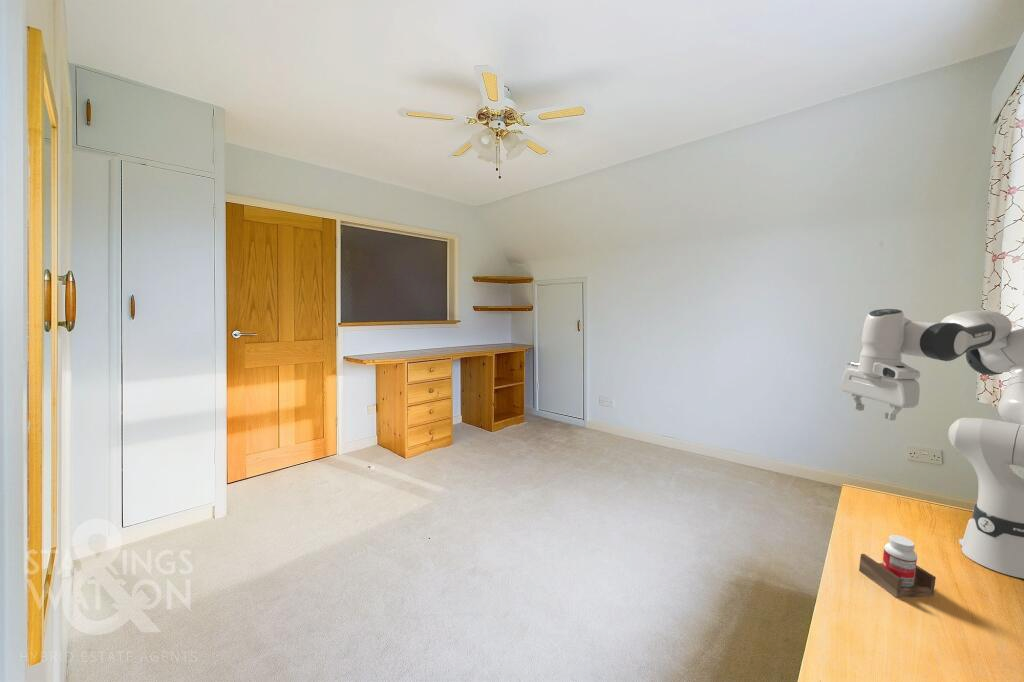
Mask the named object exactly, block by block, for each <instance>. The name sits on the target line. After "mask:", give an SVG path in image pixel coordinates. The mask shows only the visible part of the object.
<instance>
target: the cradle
mask: <svg viewBox="0 0 1024 682" xmlns="http://www.w3.org/2000/svg"><path fill="white" fill-rule="evenodd" d="M882 563H883V562H877V561H876V560H875V559H873V558H871V557H870V556H868V555H867V554H865V553H861V554H860V560H859V566H858V571H859V572H860V573H862V574H863V575H865V576H866V577H867V578H868V579H870V581H873V583H875V584H876V585H878V586H879V587H880V588H882V589H884V590H885V591H886V592H888V593H889V594H890V595H892V596H893V597H895V599H896V598H897V599H899V598H901V599H902V598H914V597H915V598H916V597H927V596H934V593H935V586H936V580H937V579H936V576H934V575H933V574H932V573H930V572H928V571H926V569H923V568H922V567H921V566H919V565H917V564H916V570H915V579H914V585H913V586H912V587H910V588H902V587H901V585H902V579H901V578H899V577H898V576H897V575H895V574H894V573H892V572H891V571H889V570H888V569H886V568H885V567H883V566H882Z"/></svg>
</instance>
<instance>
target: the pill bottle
mask: <svg viewBox="0 0 1024 682" xmlns="http://www.w3.org/2000/svg"><path fill="white" fill-rule="evenodd" d="M882 556H883V557H882V562H881V563H882V566H883V567H885V568H886V569H888V570H889V571H891V572H892V573H894V574H895V575H897V576H898V577H899V578H901V579H902V585H901V587H902V588H910V587H912V586H913V585H914V579H915V570H916V565H917V561H918V554H917V553H916V551H915V542H914V541H912V539H910V538H908V537H905V536H902V535H899V534H891V535H889V539H888V542H887V543H886V544H885V545H884V548H883V555H882Z"/></svg>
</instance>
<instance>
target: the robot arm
mask: <svg viewBox="0 0 1024 682" xmlns="http://www.w3.org/2000/svg"><path fill="white" fill-rule="evenodd" d="M861 334H862V335H861V344H862V348H861V352H860V353H859V361H858V362H855V361H850V362H849V363H847V364H846V365H845V366H844V367H845V368H844V371H843V374H842V378H841V381H840V389H841V390H842V392H843V393H844V392H845V393H849V394H851V399H852V402H853V404H854V405H853V406H854V407H853V409H854V410H856V411H865V404H864V403H863V401H862V400H861V399H862V398H867V399H870V400H874V401H878V402H881V403H885V404H888V405H889V408H890V410H889V412H885V414H884V419H885V420H887V421H891V422H892V421H896V419H897V415H898V414H899V413H900V412H901V410H902V409H904V408H905V409H914V408H916V407H917V406H918V404H919V402H920V391H921V390H920V388H921V387H920V386H921V385H920V383H919V382H918V379H920V378H921V372H920V371H919V370H918V369H915V368H913V367H911V366H909V365H907V364H906V363H904V362H902V355H907V356H913V357H921V358H928V359H932V360H933V359H934V360H937V361H943V362H950V361H954V360H956V359H958V358H960V357H962V355H964V354H965V359H966V361H967V364H968V365H969V366H970V367H971V368H972V370H974V371H975V372H977V373H979V374H981V375H985V376H994V375H995V376H996V375H1001V374H1003V373H1008V372H1009V373H1010V376H1011V377H1010V378H1009V380H1008V381H1007V382H1006V385H1005V387H1004V389H1003V392H1002V394H1001V397H1000V400H999V403H998V406H997V411H998V414H999V416H1000V417H1001V419H1003V421H1001V420H997V419H996V420H995V419H990V418H984V417H960V418H958V419H956V420H955V421H954V422H952V424H951V425H950V426H949V429H948V432H947V435H948V436H947V438H948V440H949V442H950V444H951V445H952V447H953V448H954V449H955V450H957V451H958V452H959V453H960V454H962V455H963V456H964V457H965V458H966V460H968V461H969V463H970V464H971V466H972V467H973V469H974V470H975V473H976V477H977V483H978V484H977V485H978V489H977V490H978V493H977V503H975V504H974V507H973V509H972V518H969V520H968V521H967V525H966V529H965V532H964V535H963V537H962V538H959V539H958V540H959V541H958V543H959V544H960V546H961V552H962V554H964V555H965V556H966V557H967V558H969V559H970V560H971V561H973V562H974V563H976V564H979V565H981V566H982V567H986V568H987V569H990V570H992V571H995V572H997V573H1000V574H1004V575H1006V576H1007V575H1008V576H1010V577H1015V578H1019V579H1024V478H1023V477H1021V476H1020V475H1018V474H1017V473H1016V472H1014V470H1013V468H1011V466H1016V467H1021V468H1024V327H1023V328H1019V329H1015V330H1013V324H1012V322H1011V319H1010V318H1009V317H1008V316H1007V315H1006V314H1005V315H1004V314H1003V313H1000V312H997V311H993V310H982V309H981V310H980V309H979V310H977V309H975V310H965V311H959V312H955V313H952V314H949V315H947V316H945V317H944V318H942V319H941V321H940V322H932V321H931V322H930V321H916V320H911V319H908V318H906V317H905V314H904V312H903V310H901V309H897V308H896V309H895V308H885V309H884V308H882V309H874V310H872V311H870V312H868V313H867V315H866V316H865V319H864V323H863V328H862V333H861Z"/></svg>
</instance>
